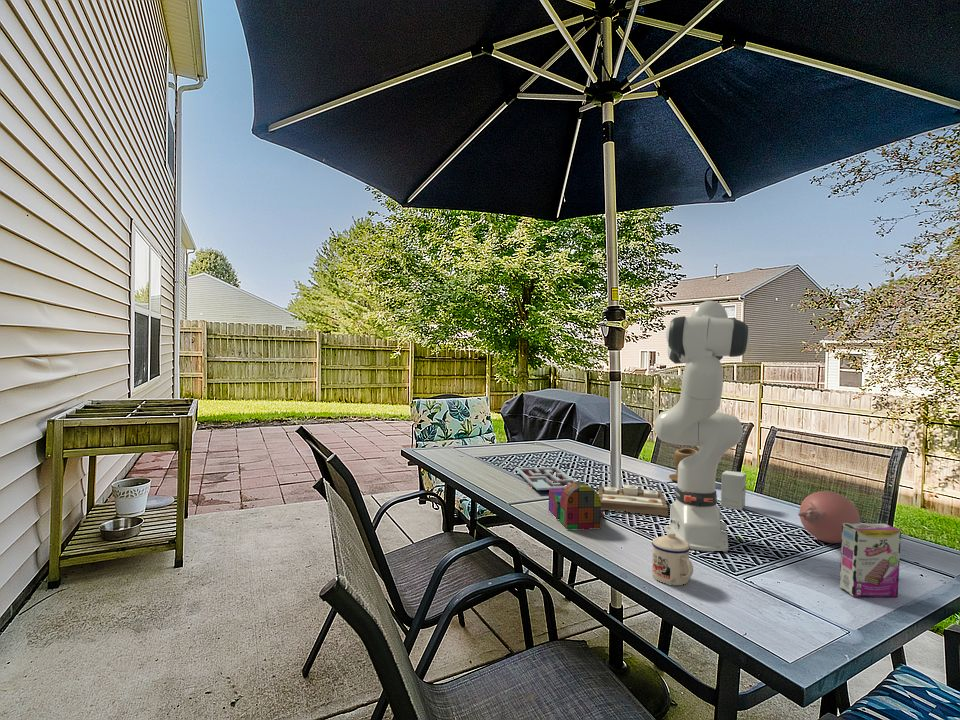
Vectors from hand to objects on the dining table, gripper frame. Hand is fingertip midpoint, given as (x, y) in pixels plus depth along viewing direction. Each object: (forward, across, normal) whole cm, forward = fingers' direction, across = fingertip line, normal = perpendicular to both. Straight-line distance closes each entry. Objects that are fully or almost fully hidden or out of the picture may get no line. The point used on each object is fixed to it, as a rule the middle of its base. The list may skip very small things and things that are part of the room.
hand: (704, 408), depth 189 cm
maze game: (+38, +16, +60) cm, 73 cm away
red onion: (+37, -29, -29) cm, 56 cm away
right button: (+36, -1, +19) cm, 40 cm away
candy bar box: (+37, -64, -26) cm, 79 cm away
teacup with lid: (+37, -70, +19) cm, 81 cm away
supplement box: (+37, +3, -11) cm, 39 cm away
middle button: (+34, -1, +26) cm, 43 cm away
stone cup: (+37, +37, -1) cm, 53 cm away
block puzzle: (+37, -26, +45) cm, 64 cm away
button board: (+37, -6, +26) cm, 46 cm away
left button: (+36, -1, +34) cm, 49 cm away
